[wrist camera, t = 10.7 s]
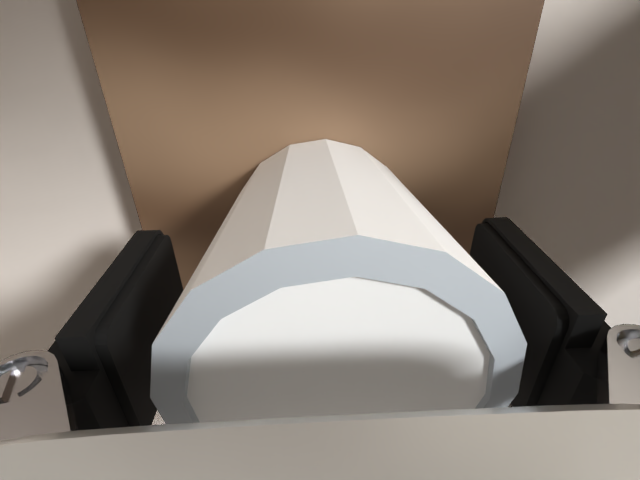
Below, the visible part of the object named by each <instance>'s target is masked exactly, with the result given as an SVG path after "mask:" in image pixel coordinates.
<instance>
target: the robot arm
mask: <svg viewBox="0 0 640 480" xmlns="http://www.w3.org/2000/svg"><path fill="white" fill-rule="evenodd" d="M470 256H471V257H472V258H473V259H474V261H475V262H476V263H477V264H478V265H479V266H480V267H481V268H482V269H483V270H484V271H485V272H486V273H487V274H488V276H489V277H490V278H491V279H492V280H493V281H494V282H495V283H496V284H497V285H498V286H499V287H500V288H501V289H502V290H503V292H504V293H505V295H506V297H507V299H508V301H509V304H510V306H511V308H512V310H513V313H514V315H515V317H516V319H517V322H518V324H519V326H520V328H521V331H522V333H523V335H524V337H525V340H526V342H527V348H526V353H525V359H524V364H523V369H522V375H521V380H520V386H519V391H518V394H517V395H516V396H515V398H514V399H513V400H512V402H511V405H512V407H500V408H477V409H455V410H432V411H411V412H391V413H370V414H350V415H330V416H310V417H291V418H272V419H254V420H235V421H217V422H199V423H181V424H163V425H151V424H152V422H153V419H154V416H155V414H156V411H157V408H156V407H155V405H154V403H153V401H152V400H151V398H150V384H151V357H152V344H153V342H154V340H155V339H156V337H157V335H158V333H159V332H160V330H161V328H162V326H163V325H164V323H165V321H166V320H167V318H168V316H169V314H170V313H171V311H172V309H173V308H174V306H175V304H176V302H177V301H178V299H179V297H180V296H181V294H182V292H183V286H182V282H181V278H180V274H179V270H178V266H177V262H176V258H175V254H174V250H173V246H172V242H171V239H170V237H169V235H164V234H163V232H162V231H161V230H143V231H137V232H136V233H135V234H134V235H133V237H132V238H131V239H130V241H129V242H128V243H127V244H126V246H125V247H124V248H123V250H122V251H121V252H120V254H119V255H118V256H117V258H116V259H115V260H114V261H113V263H112V264H111V265H110V267H109V268H108V269H107V271H106V272H105V273H104V274H103V276H102V277H101V278H100V280H99V281H98V282H97V284H96V285H95V286H94V287H93V289H92V290H91V291H90V293H89V294H88V295H87V297H86V298H85V299H84V300H83V302H82V303H81V304H80V306H79V307H78V308H77V310H76V311H75V312H74V314H73V315H72V316H71V317H70V319H69V320H68V321H67V323H66V324H65V325H64V327H63V328H62V329H61V330H60V332H59V333H58V334H57V336H56V337H55V340H56V341H55V342H54V343H53V345H52V346H51V347H50V349H49V350H48V351H42V350H33V351H25V352H22V353H18V354H15V355H12V356H10V357H8V358H5V359H3V360H1V361H0V480H640V326H639V325H634V324H621V325H616V326H614V327H612V328H611V327H610V326H609V325H608V324H607V323H606V322H605V321H604V320H605V318H606V316H607V313H606V312H605V311H604V310H603V309H602V308H601V307H599V306H598V305H597V304H596V303H595V302H594V301H593V300H592V299H591V298H590V297H589V296H588V295H587V294H586V293H585V292H584V291H583V290H582V289H581V288H580V287H579V286H578V285H577V284H576V283H575V282H574V281H573V280H572V279H571V278H570V277H569V276H568V275H567V274H566V273H564V272H563V271H562V270H561V269H560V268H559V267H558V266H557V265H556V264H555V263H554V262H553V261H552V260H551V259H550V258H549V257H548V256H547V255H546V254H545V253H544V252H543V251H542V250H541V249H540V248H539V247H538V246H537V245H536V244H535V243H534V242H533V241H532V240H531V239H530V238H528V237H527V236H526V235H525V234H524V233H523V232H522V231H521V230H520V229H519V228H518V227H517V226H516V225H515V224H514V223H513V222H512V221H511V220H510V219H509V218H507V217H503V218H485V219H484V220H483V221H482V223H479V224H477V225H476V227H475V231H474V236H473V240H472V245H471V250H470Z"/></svg>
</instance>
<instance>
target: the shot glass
mask: <svg viewBox="0 0 640 480" xmlns="http://www.w3.org/2000/svg"><path fill="white" fill-rule="evenodd" d="M526 348H527V342H526V340H525V337H524V335H523V333H522V331H521V328H520V326H519V324H518V322H517V319H516V317H515V315H514V313H513V310H512V308H511V306H510V304H509V301H508V299H507V297H506V295H505V293H504V292H503V290H502V289H501V288H500V287H499V286H498V285H497V284H496V283H495V282H494V281H493V280H492V279H491V278H490V277H489V276H488V274H487V273H486V272H485V271H484V270H483V269H482V268H481V267H480V266H479V265H478V264H477V263H476V262H475V261H474V259H473V258H472V257H471V256H470V255H469V254H468V253H467V252H466V251H465V250H464V249H463V248H462V247H461V246H460V245H459V243H458V242H457V241H456V240H455V239H454V238H453V237H452V236H451V235H450V234H449V233H448V232H447V231H446V230H445V229H444V227H443V226H442V225H441V224H440V223H439V222H438V221H437V220H436V219H435V218H434V217H433V216H432V215H431V214H430V213H429V211H428V210H427V209H426V208H425V207H424V206H423V205H422V204H421V203H420V202H419V201H418V200H417V199H416V198H415V196H414V195H413V194H412V193H411V192H410V191H409V190H408V189H407V188H406V187H405V186H404V185H403V184H402V183H401V182H400V180H399V179H398V178H397V177H396V176H395V175H394V174H393V173H392V172H391V171H390V170H389V169H388V168H387V167H386V166H385V165H384V164H382V163H381V162H380V161H378V160H377V159H376V158H374V157H373V156H372V155H370V154H369V153H367V152H366V151H365V150H363V149H362V148H361V147H358V146H354V145H349V144H345V143H341V142H337V141H332V140H328V139H322V140H316V141H310V142H304V143H297V144H291V145H289V146H287V147H285V148H284V149H282V150H281V151H279V152H277V153H276V154H274V155H272V156H271V157H269V158H268V159H266V160H264V161H263V162H261V163H260V164H259V165H258V167H257V168H256V170H255V171H254V173H253V174H252V176H251V177H250V179H249V180H248V182H247V183H246V185H245V186H244V188H243V189H242V191H241V192H240V194H239V196H238V197H237V199H236V201H235V203H234V204H233V206H232V208H231V209H230V211H229V213H228V215H227V216H226V218H225V220H224V222H223V223H222V225H221V227H220V228H219V230H218V232H217V234H216V235H215V237H214V239H213V240H212V242H211V244H210V246H209V247H208V249H207V251H206V252H205V254H204V256H203V258H202V259H201V261H200V263H199V265H198V266H197V268H196V270H195V271H194V273H193V275H192V277H191V278H190V280H189V282H188V283H187V285H186V287H185V289H184V290H183V292H182V294H181V296H180V297H179V299H178V301H177V302H176V304H175V306H174V308H173V309H172V311H171V313H170V314H169V316H168V318H167V320H166V321H165V323H164V325H163V326H162V328H161V330H160V332H159V333H158V335H157V337H156V339H155V340H154V342H153V344H152V357H151V384H150V398H151V400H152V401H153V403H154V405H155V407H156V408H157V410H158V412H159V413H160V415H161V417H162V418H163V420H164V422H165V423H166V424H181V423H199V422H217V421H235V420H254V419H272V418H291V417H310V416H330V415H350V414H370V413H391V412H411V411H432V410H455V409H477V408H500V407H508V406H509V404H510V403H511V402H512V400H513V399H514V398H515V396H516V395H517V394H518V391H519V386H520V380H521V375H522V369H523V364H524V359H525V353H526Z"/></svg>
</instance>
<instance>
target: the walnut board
mask: <svg viewBox="0 0 640 480" xmlns="http://www.w3.org/2000/svg"><path fill="white" fill-rule="evenodd" d="M76 1H77V4H78V8H79V11H80V15H81V18H82V22H83V25H84V29H85V32H86V36H87V39H88V43H89V46H90V50H91V53H92V57H93V60H94V63H95V67H96V70H97V74H98V77H99V81H100V84H101V88H102V91H103V95H104V98H105V102H106V105H107V109H108V112H109V116H110V119H111V122H112V126H113V129H114V133H115V136H116V140H117V143H118V147H119V150H120V154H121V157H122V161H123V164H124V168H125V171H126V175H127V178H128V181H129V185H130V188H131V192H132V195H133V199H134V202H135V206H136V209H137V213H138V216H139V220H140V223H141V227H142V230H161V231H162V232H163V234H164V235H169V237H170V239H171V242H172V246H173V250H174V254H175V258H176V262H177V266H178V270H179V274H180V278H181V282H182V286H183V290H184V289H185V287H186V285H187V283H188V282H189V280H190V278H191V277H192V275H193V273H194V271H195V270H196V268H197V266H198V265H199V263H200V261H201V259H202V258H203V256H204V254H205V252H206V251H207V249H208V247H209V246H210V244H211V242H212V240H213V239H214V237H215V235H216V234H217V232H218V230H219V228H220V227H221V225H222V223H223V222H224V220H225V218H226V216H227V215H228V213H229V211H230V209H231V208H232V206H233V204H234V203H235V201H236V199H237V197H238V196H239V194H240V192H241V191H242V189H243V188H244V186H245V185H246V183H247V182H248V180H249V179H250V177H251V176H252V174H253V173H254V171H255V170H256V168H257V167H258V165H259V164H260V163H261V162H263V161H264V160H266V159H268V158H269V157H271V156H272V155H274V154H276V153H277V152H279V151H281V150H282V149H284V148H285V147H287V146H289V145H291V144H297V143H304V142H310V141H316V140H322V139H328V140H332V141H337V142H341V143H345V144H349V145H354V146H358V147H361V148H362V149H363V150H365V151H366V152H367V153H369V154H370V155H372V156H373V157H374V158H376V159H377V160H378V161H380V162H381V163H382V164H384V165H385V166H386V167H387V168H388V169H389V170H390V171H391V172H392V173H393V174H394V175H395V176H396V177H397V178H398V179H399V180H400V182H401V183H402V184H403V185H404V186H405V187H406V188H407V189H408V190H409V191H410V192H411V193H412V194H413V195H414V196H415V198H416V199H417V200H418V201H419V202H420V203H421V204H422V205H423V206H424V207H425V208H426V209H427V210H428V211H429V213H430V214H431V215H432V216H433V217H434V218H435V219H436V220H437V221H438V222H439V223H440V224H441V225H442V226H443V227H444V229H445V230H446V231H447V232H448V233H449V234H450V235H451V236H452V237H453V238H454V239H455V240H456V241H457V242H458V243H459V245H460V246H461V247H462V248H463V249H464V250H465V251H466V252H467V253H468V254H469V255H470V250H471V245H472V240H473V236H474V231H475V227H476V225H477V224H479V223H482V221H483V220H484V219H485V218H493V217H494V213H495V209H496V204H497V200H498V196H499V192H500V187H501V183H502V179H503V175H504V170H505V166H506V162H507V158H508V153H509V149H510V145H511V141H512V137H513V132H514V128H515V124H516V120H517V115H518V111H519V107H520V103H521V98H522V94H523V90H524V86H525V81H526V77H527V73H528V69H529V64H530V60H531V56H532V52H533V47H534V43H535V39H536V35H537V30H538V26H539V22H540V18H541V13H542V9H543V5H544V1H545V0H76Z"/></svg>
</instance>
